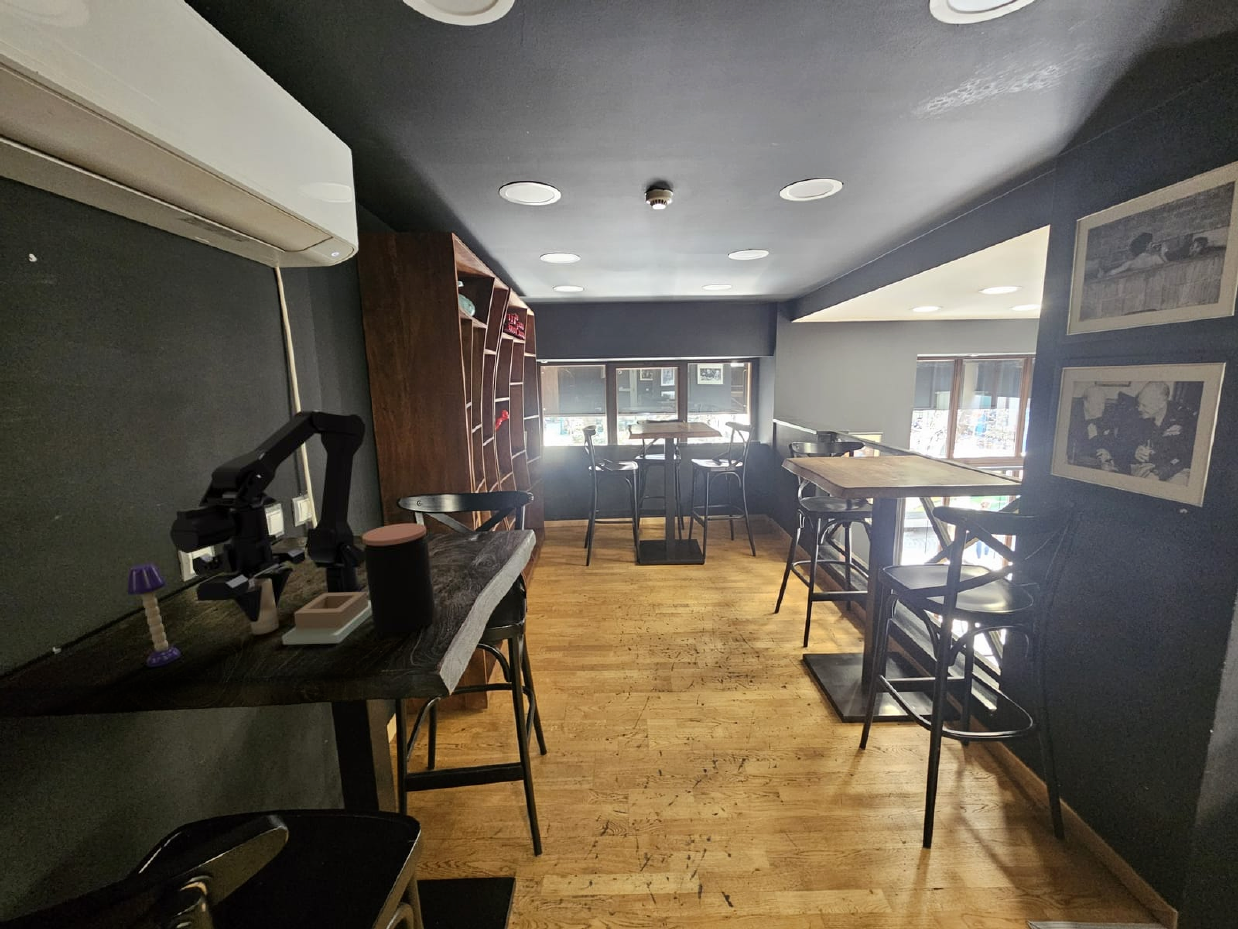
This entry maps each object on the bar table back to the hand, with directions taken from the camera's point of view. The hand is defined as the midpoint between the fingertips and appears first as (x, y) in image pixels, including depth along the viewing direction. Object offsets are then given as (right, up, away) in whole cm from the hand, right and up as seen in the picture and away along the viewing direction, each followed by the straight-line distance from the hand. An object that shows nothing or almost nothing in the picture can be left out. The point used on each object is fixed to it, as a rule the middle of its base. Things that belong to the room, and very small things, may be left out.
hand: (263, 616), depth 90 cm
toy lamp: (-12, -6, -7) cm, 15 cm away
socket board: (+11, -3, +3) cm, 12 cm away
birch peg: (0, -3, 0) cm, 2 cm away
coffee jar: (+25, -2, +2) cm, 25 cm away
